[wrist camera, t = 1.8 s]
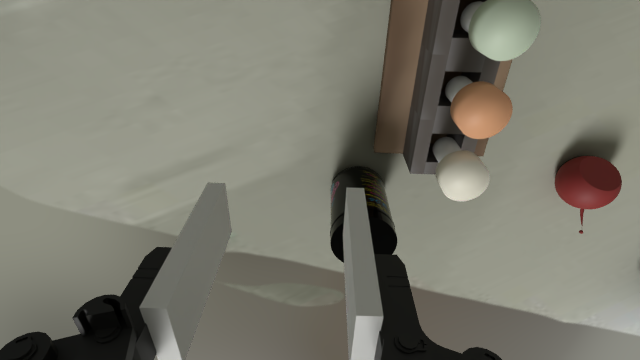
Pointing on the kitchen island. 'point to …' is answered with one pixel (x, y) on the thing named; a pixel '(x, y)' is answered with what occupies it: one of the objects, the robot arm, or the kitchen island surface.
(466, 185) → the cream button
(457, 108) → the orange capped peg
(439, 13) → the button board
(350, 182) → the supplement container
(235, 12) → the kitchen island surface
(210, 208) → the robot arm
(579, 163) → the fruit
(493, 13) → the sage button
